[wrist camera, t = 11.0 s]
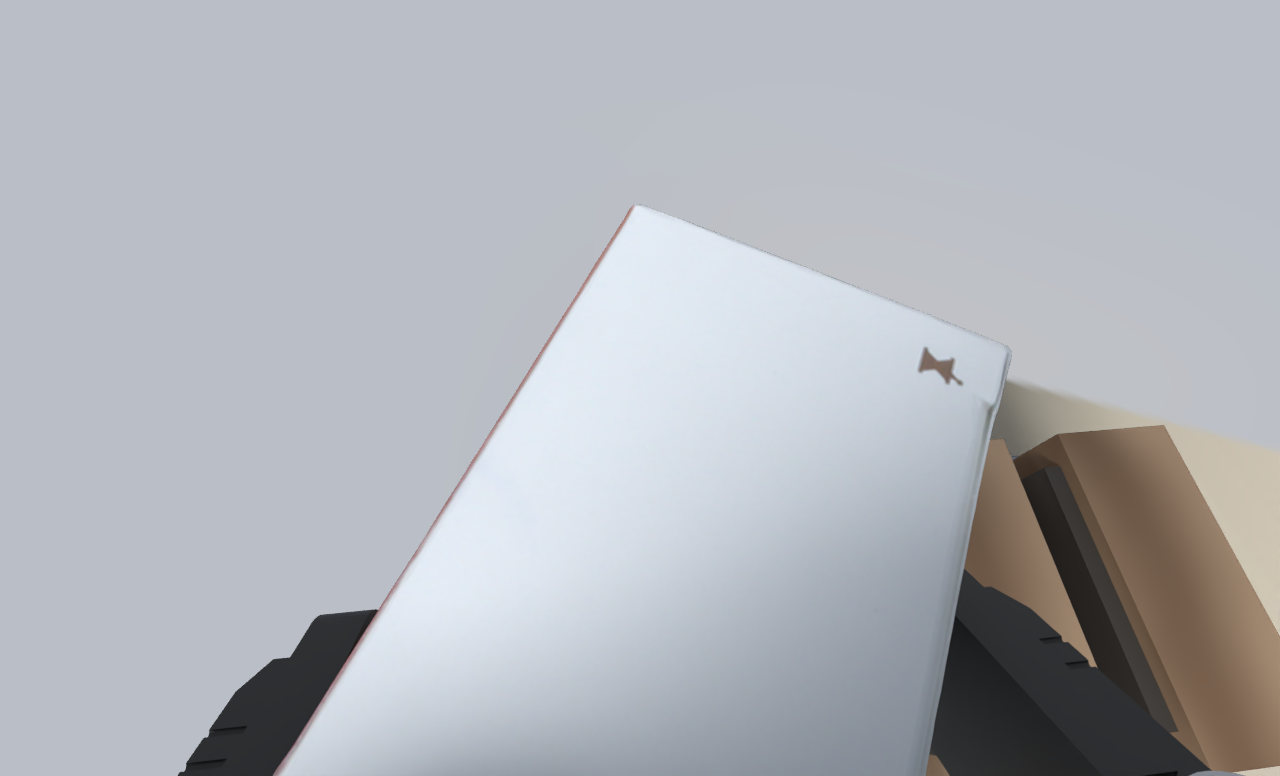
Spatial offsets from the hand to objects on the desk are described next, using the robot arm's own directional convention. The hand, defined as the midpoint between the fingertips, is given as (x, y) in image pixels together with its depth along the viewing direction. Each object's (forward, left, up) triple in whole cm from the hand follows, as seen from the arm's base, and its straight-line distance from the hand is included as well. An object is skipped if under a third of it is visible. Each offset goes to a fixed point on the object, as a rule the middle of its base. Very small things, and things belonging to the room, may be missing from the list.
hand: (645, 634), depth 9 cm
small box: (-1, -1, -8) cm, 8 cm away
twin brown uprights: (-14, -1, -18) cm, 23 cm away
